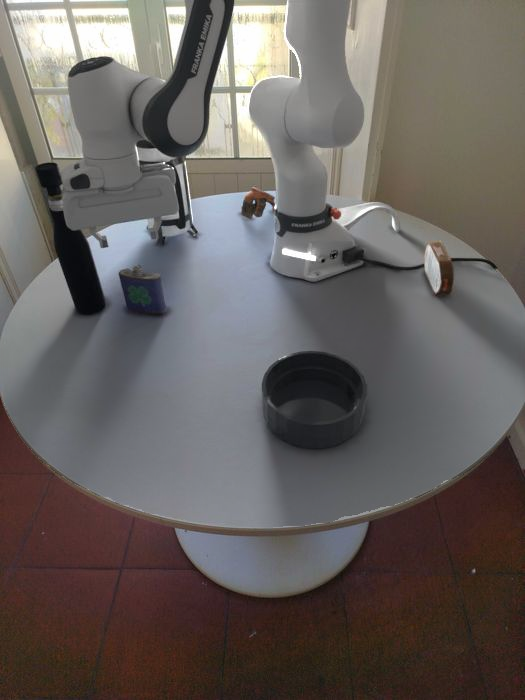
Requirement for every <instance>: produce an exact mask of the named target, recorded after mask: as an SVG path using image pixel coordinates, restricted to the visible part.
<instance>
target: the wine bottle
mask: <svg viewBox="0 0 525 700" xmlns="http://www.w3.org/2000/svg"><path fill="white" fill-rule="evenodd" d="M34 170H35V172H36V176H37V179H38V181H39V185H40V187H41V188H43V189H45V190H46V193H47V197H48V198H47V200H48V202H47V204H48V206H49V214H50V216H51V219H52V222H53V245H54V251H55V254H56V256H57V259H58V262H59V265H60V269H61V271H62V274H63V276H64V280H65V282H66V285H67V288H68V290H69V294H70V297H71V300H72V302H73V305H74V308H75V311H76V312H77V313H78V314H80V315H84V316H90V315H95V314H98V313H100V312H102V311H103V310H104V309H105V308H106V306H107V300H106V297H105V293H104V289H103V286H102V283H101V280H100V277H99V273H98V270H97V265H96V263H95V259H94V256H93V253H92V249H91V246H90V242H89V241H88V239H87V236H86V235H85V233H84V230H83V229H81V230H75V231H73V230H71V229H70V228H68V227H67V225H66V221H65V217H64V211H63V203H62V186H63V184H62V181H61V169H60V167H59V164H58V163H57V162H43V163H39V164H37V165H35V168H34Z"/></svg>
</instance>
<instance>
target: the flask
mask: <svg viewBox="0 0 525 700" xmlns="http://www.w3.org/2000/svg"><path fill="white" fill-rule="evenodd" d="M142 268H143V267H142V265H140V264H137V266H133V267H132V268H131V269H130V268H128V267H127V268H124V269H120V270H119V271H118V278H119V281H120V285H121V289H122V293H123V299H124V303H125V306H126V310H127V311H129V312H132V313H134V314H138V315H139V314H140V315H150V316H163V315H166V313H167V312H168V307H167V304H166V300H165V299H166V298H165V294H164V289H163V283H162V277H161V275H160V273H158V272H144V271H142Z"/></svg>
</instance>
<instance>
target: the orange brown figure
mask: <svg viewBox="0 0 525 700" xmlns="http://www.w3.org/2000/svg"><path fill="white" fill-rule="evenodd" d="M243 197H244V198H243V201H242V205H241V208H240V214H241V215H242V216H243V217H245V218H247V219H249V220H252V219H253V216H254V217H256V218H262V217H263V215H264V210H265V209H266V206H267V203H268V204H269V205H271V207H272V208H271V212H272V213H274V209H275V205H276V202H275V200H276V196H274V195H273V194H271V193H268V192H266V191H264V190H262V189H260V188H256V187H254V186H252V187H251V189H250V191H248V192H247V193H246V194H245V195H244V196H243Z"/></svg>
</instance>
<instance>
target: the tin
mask: <svg viewBox="0 0 525 700" xmlns="http://www.w3.org/2000/svg"><path fill="white" fill-rule="evenodd" d="M451 258H452V257H451V256H450V254H449V253H448V251H447V248H446V246H445V244H444V242H443V241H442V240H441V239H440V240H433V241H432V240H431V241H428V242H427V243H426V244H425V251H424V256H423V264H424V267H423V269H424V273H425V276H426V279H427V281H428V284H429V286H430V288H431V291H432V293H433V294H434V295H435V296H449V295H450V294H451V293H452V290H453V287H454V277H455V275H454V272H455V271H454V264H453V261H452V260H451Z"/></svg>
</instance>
